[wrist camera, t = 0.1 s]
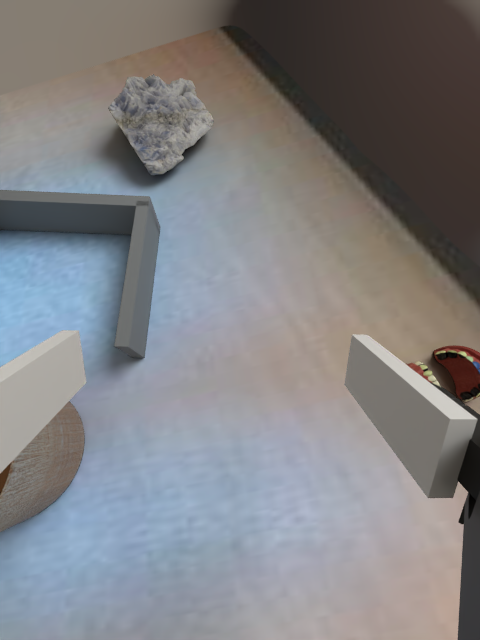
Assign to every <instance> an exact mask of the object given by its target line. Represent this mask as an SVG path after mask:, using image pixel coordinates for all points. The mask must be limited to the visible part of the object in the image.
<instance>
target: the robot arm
mask: <svg viewBox="0 0 480 640" xmlns="http://www.w3.org/2000/svg"><path fill="white" fill-rule="evenodd" d="M85 384H86V376H85V370H84V363H83V356H82V349H81V342H80V336H79V331H66V330H62V331H60V332H59V333H57V334H55V335H54V336H52V337H50V338H49V339H47V340H45V341H44V342H42V343H40V344H39V345H37V346H35V347H34V348H32V349H30V350H29V351H27V352H25V353H23V354H22V355H20V356H18V357H17V358H15V359H13V360H12V361H10V362H8V363H7V364H5V365H3V366H2V367H0V473H1V472H2V471H3V470H4V469H5V468H6V467H7V466H8V465H9V464H10V463H11V462H12V461H13V460H14V459H15V457H16V456H17V455H18V454H19V453H20V452H21V451H22V450H23V449H24V448H25V447H26V446H27V445H28V444H29V443H30V442H31V441H32V440H33V438H34V437H35V436H36V435H37V434H38V433H39V432H40V431H41V430H42V429H43V428H44V427H45V426H46V425H47V424H48V423H49V422H50V421H51V419H52V418H53V417H54V416H55V415H56V414H57V413H58V412H59V411H60V410H61V409H62V408H63V407H64V406H65V405H66V404H67V403H68V402H69V400H70V399H71V398H72V397H73V396H74V395H75V394H76V393H77V392H78V391H79V390H80V389H81V388H82V387H83V386H84V385H85ZM345 386H346V387H347V389H348V390H349V391H350V393H351V394H352V395H353V397H354V398H355V400H356V401H357V402H358V404H359V405H360V406H361V408H362V409H363V410H364V412H365V413H366V415H367V416H368V417H369V419H370V420H371V421H372V423H373V424H374V425H375V427H376V428H377V429H378V431H379V432H380V434H381V435H382V436H383V438H384V439H385V440H386V442H387V443H388V444H389V446H390V447H391V448H392V450H393V451H394V453H395V454H396V455H397V457H398V458H399V459H400V461H401V462H402V463H403V465H404V466H405V467H406V469H407V470H408V472H409V473H410V474H411V476H412V477H413V478H414V480H415V481H416V482H417V484H418V485H419V486H420V488H421V489H422V491H423V492H424V493H425V495H426V496H427V497H428V498H453V496H454V493H455V490H456V486H457V483H458V481H459V482H460V483H461V485H462V486H463V487H464V488H465V489H466V490H467V491H468V495H467V498H466V501H465V504H464V507H463V510H462V513H461V516H460V519H459V523H461V524H464V532H463V551H462V569H461V588H460V607H459V626H458V640H480V415H479V414H478V413H477V412H475V411H474V410H472V409H471V408H470V407H468V406H465V404H464V403H463V402H462V401H460V400H459V399H456V397H455V396H454V395H452V394H451V393H450V392H448V391H447V390H445V389H444V388H442V387H440V386H438V385H436V384H433V383H431V382H428V381H427V380H426V379H424V378H423V377H422V376H420V375H419V374H418V373H417V372H415V371H414V370H413V369H411V368H410V367H409V366H407V365H406V364H405V363H403V362H402V361H401V360H400V359H398V358H397V357H396V356H394V355H393V354H392V353H390V352H389V351H388V350H386V349H385V348H384V347H383V346H381V345H380V344H379V343H377V342H376V341H375V340H373V339H372V338H371V337H370V336H368V335H352V338H351V345H350V352H349V358H348V365H347V372H346V378H345Z"/></svg>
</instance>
